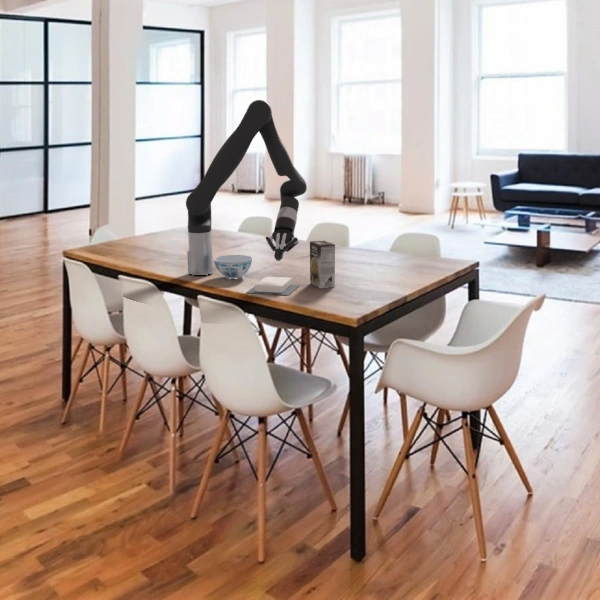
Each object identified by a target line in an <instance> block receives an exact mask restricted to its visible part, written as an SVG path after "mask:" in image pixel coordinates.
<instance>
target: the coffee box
mask: <svg viewBox="0 0 600 600" xmlns="http://www.w3.org/2000/svg"><path fill="white" fill-rule="evenodd" d="M309 273H310V274H309V283H310V285H312V286H315V287H316V288H318V289H320V288H321V289H329V287H330V288H335V286H336V284H335V282H336V281H335V280H336V278H335V277H336V244H334V243H332V242H329V241H326V240H313V241H309Z"/></svg>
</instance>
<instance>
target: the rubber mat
mask: <svg viewBox="0 0 600 600" xmlns="http://www.w3.org/2000/svg"><path fill="white" fill-rule="evenodd" d="M299 287H300V285H299V284H292V285H291V286H289V287H288V288H287V289H286V290H285V291H284V292H282V293H271V292H256V291H255V285H254V286H253V287H252V288H250V289H249V290H247V291H246V292H245V294H246V293H258V294H257V295H266V294H278V295H277V296H286V295H289V296H290V295H292V294H293V293H294V292H295V291H296V290H297V289H298V288H299ZM296 288H297V289H296ZM295 289H296V290H295ZM294 290H295V291H294ZM293 291H294V292H293ZM292 292H293V293H292Z"/></svg>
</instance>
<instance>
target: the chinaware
mask: <svg viewBox="0 0 600 600" xmlns="http://www.w3.org/2000/svg"><path fill="white" fill-rule="evenodd" d="M252 262H253V257H252V256H250V255H244V254H225V255H219V256H216V257H213V264H214V266H215V268H216V270H217V271H218V272H219V273H220V274H221V275H223V276H224V278H225V279H226V278H231V279H234V278H241V277H242V278H243V276H244V275H245V274H247V272H248V271H249V269H250V268H251V266H252ZM242 278H241V279H242Z"/></svg>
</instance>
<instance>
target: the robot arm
mask: <svg viewBox="0 0 600 600" xmlns="http://www.w3.org/2000/svg"><path fill="white" fill-rule="evenodd" d="M272 111H273V110H272V108H271V105H270V104H269V103H268V102H266V101H265V100H262V99H256V100H254V101H252V102H251V103H250V104H249V105H248V107H247V109H246V112H245V113H244V115H243V117H242V118H241V120H240V123H239V124H238V125H237V127H236V129H235V130H234V131H233V132H232V133H231V134H230V135H229V137H228V138H227V139H226V140H225V142H224V143H223V144H222V146H220V148H219V150H218V151H217V153H216V155H215V156H214V158H213V159H212V161H211V163H210V164H209V166H208V169H207V170H206V173H205V174H204V176H203V178H202V179H201V181H200V182H199V183H198V185H197V186H195V188H194V190H192V192H191V193H189V195H188V196H187V198H186V200H185V207H186V211H187V238H188V250H187V251H186V255H187V259H186V260H187V275H188V274H192V275H191V276H194V275H206V276H209V275H208V274H211V275H213V274H214V256H213V237H212V202H213V200H214V198H215V196H216V194H217V193H218V191H219V190H220V189H221V187H222V186H223V185H224V184H225V183H226V182H227V181H228V179H229V178H230V177H231V176H232V175H233V173H234V172H235V171H236V169H237V168H238V166H240V164H241V162H242V160H243V159H244V157H245V155H246V154H247V152H248V149H249V147H250V145H251V143H252V141H253V140H254V138H255V137H256V135H257V134H258V133H259V134H260V135H261V138H262V140H263V142H264V145H265V148H266V151H267V153H268V156H269V158H270V161H271V162H272V165H273V167H274V170H275V172H276V174H277V176H279V177H287V178H288V179H289V180H285V181H284V182H283V183H282V184H281V185H280V187H279V188H280V189H279V194H280V205H279V210H278V212H277V217H276V219H275V225H274V229H273V232H272V233H271V235H270V236H266V237H265V241H266V242H267V244H268V246H269V247H270V249H271V250H272V252H274V254H273V255H274V256H273V257H274V258H275V261H277V262H281V260H282V259H283V258H284V254H285V252H287V253H288V252H290V251H291V250H292V249H294V248H295V247H296V246H297V245H298V244H299V240H298V237H295V234H294V233H295V229H296V224H297V220H298V211H299V208H300V207H299V206H300V203H299V200H298V199H297V197H299V196H302V195H304V194H305V193H307V182H306V181H305V178H304V177H303V176H302V175H301V174H300V173H299V171H298V170H297V169H296V167H295V166H294V163H293V162H292V160H291V158H290V157H291V156H290V155H289V152H288V151H287V149H286V147H285V144H284V143H283V142H282V140H281V137H280V135H279V133H278V131H277V128H276V125H275V122H274V118H273V112H272ZM273 242H274V243H275V245H274V243H273ZM212 273H213V274H212Z"/></svg>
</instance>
